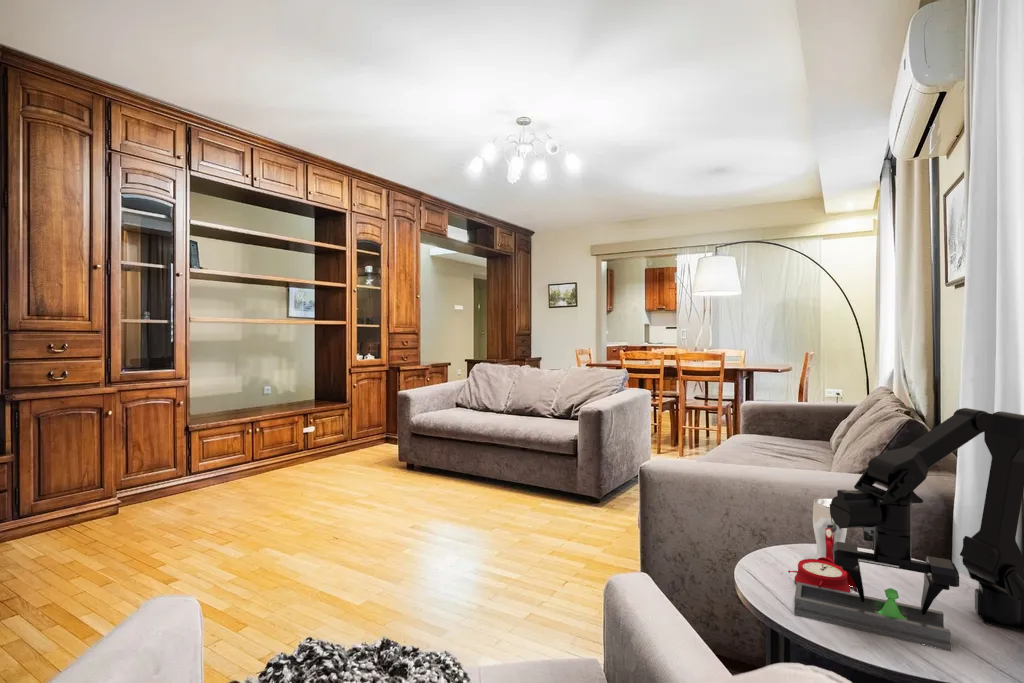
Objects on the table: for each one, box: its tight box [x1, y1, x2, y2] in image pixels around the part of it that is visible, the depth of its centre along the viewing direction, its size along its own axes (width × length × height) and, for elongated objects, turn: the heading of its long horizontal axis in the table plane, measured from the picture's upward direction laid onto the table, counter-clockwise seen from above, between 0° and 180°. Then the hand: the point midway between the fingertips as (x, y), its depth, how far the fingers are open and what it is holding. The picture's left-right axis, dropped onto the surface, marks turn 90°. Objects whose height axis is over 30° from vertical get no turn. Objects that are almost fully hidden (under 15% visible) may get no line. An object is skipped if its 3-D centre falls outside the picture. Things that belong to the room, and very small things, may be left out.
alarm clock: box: [787, 557, 857, 593], centre depth 115 cm, size 10×6×15 cm
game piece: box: [878, 587, 906, 620], centre depth 99 cm, size 4×4×6 cm
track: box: [794, 582, 952, 652], centre depth 101 cm, size 24×9×3 cm, turn 59°
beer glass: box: [812, 497, 848, 562], centre depth 124 cm, size 7×7×15 cm
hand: (892, 607), depth 99 cm, fingers open, 9 cm apart
